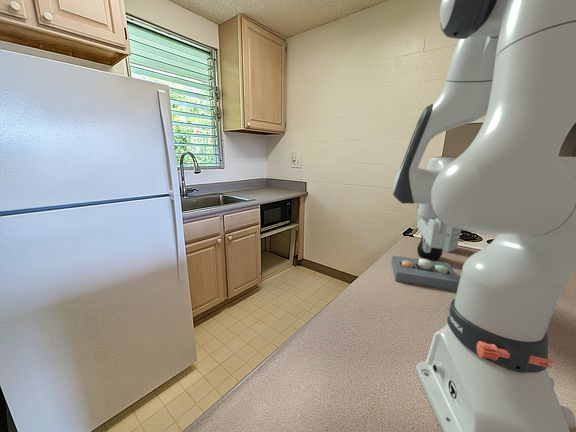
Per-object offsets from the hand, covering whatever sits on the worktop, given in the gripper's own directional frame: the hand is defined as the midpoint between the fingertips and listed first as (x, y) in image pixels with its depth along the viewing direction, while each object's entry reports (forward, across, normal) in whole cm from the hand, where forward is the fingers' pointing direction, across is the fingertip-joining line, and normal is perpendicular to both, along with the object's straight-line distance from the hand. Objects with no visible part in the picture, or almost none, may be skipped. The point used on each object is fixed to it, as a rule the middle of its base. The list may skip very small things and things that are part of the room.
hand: (426, 251), depth 79 cm
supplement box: (+9, +32, -15) cm, 36 cm away
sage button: (+7, 0, -5) cm, 9 cm away
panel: (+9, 0, 0) cm, 9 cm away
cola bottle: (+9, +18, -6) cm, 21 cm away
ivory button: (+6, 0, 0) cm, 6 cm away
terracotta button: (+7, 0, +5) cm, 8 cm away
